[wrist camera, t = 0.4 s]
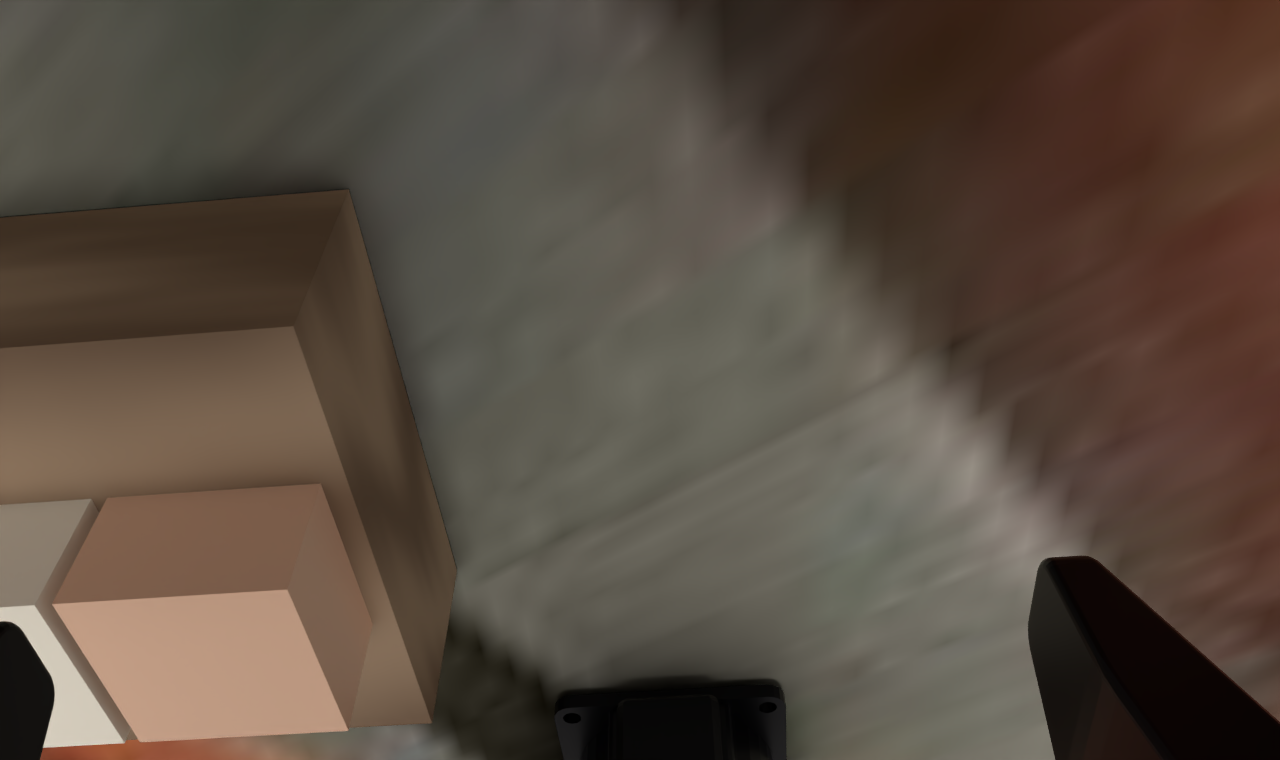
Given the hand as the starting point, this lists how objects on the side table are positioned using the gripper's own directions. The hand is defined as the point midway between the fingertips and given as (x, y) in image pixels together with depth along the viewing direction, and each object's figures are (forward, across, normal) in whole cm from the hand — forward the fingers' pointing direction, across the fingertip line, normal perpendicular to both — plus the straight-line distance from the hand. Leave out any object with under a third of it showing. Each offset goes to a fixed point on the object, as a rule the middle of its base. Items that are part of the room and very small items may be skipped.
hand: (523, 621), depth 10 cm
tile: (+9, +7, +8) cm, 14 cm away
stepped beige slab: (+13, +9, +8) cm, 18 cm away
